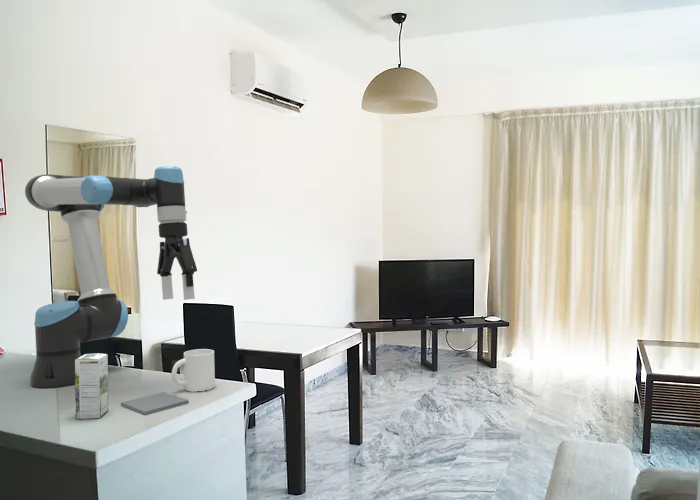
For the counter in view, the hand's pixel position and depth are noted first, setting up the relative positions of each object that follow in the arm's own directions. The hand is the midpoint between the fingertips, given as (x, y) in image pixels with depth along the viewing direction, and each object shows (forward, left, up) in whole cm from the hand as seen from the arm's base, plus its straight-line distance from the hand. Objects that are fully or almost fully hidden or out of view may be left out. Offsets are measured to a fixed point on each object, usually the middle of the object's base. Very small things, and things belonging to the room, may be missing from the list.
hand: (178, 299), depth 154 cm
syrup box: (+2, -25, -26) cm, 36 cm away
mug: (+2, +3, -26) cm, 26 cm away
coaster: (+6, -11, -25) cm, 28 cm away
